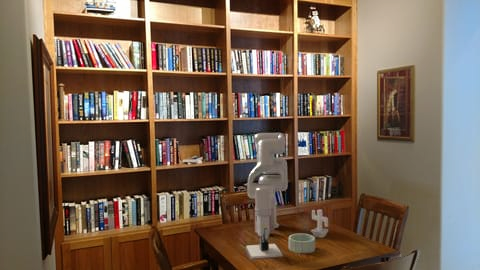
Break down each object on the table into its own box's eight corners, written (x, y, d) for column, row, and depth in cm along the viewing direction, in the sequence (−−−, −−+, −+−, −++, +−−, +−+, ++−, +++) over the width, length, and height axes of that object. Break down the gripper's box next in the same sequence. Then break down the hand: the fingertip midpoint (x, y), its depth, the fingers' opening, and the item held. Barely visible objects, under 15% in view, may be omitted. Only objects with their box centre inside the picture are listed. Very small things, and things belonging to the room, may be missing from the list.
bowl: (285, 245, 198) (285, 234, 198) (309, 243, 200) (309, 232, 200) (293, 254, 185) (293, 242, 185) (318, 252, 187) (318, 241, 187)
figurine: (324, 239, 206) (324, 212, 205) (309, 236, 212) (309, 210, 211) (330, 236, 212) (330, 209, 211) (315, 233, 218) (315, 207, 217)
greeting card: (253, 232, 221) (253, 207, 220) (263, 230, 225) (263, 205, 224) (266, 237, 212) (266, 211, 211) (276, 234, 216) (276, 208, 215)
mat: (244, 247, 196) (244, 247, 196) (276, 245, 198) (276, 244, 198) (249, 260, 179) (249, 259, 179) (284, 257, 182) (284, 256, 182)
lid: (246, 247, 195) (246, 234, 195) (274, 245, 197) (274, 232, 197) (251, 258, 180) (251, 244, 180) (282, 256, 182) (282, 242, 182)
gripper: (252, 208, 196) (253, 241, 197) (259, 217, 178) (259, 254, 180) (266, 207, 197) (267, 240, 198) (274, 216, 180) (275, 252, 181)
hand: (263, 246), depth 189 cm, fingers open, 7 cm apart
